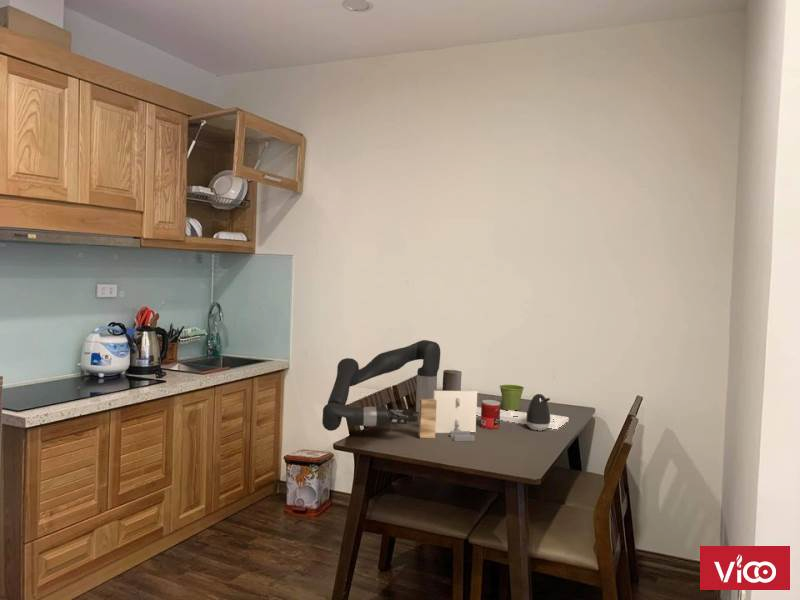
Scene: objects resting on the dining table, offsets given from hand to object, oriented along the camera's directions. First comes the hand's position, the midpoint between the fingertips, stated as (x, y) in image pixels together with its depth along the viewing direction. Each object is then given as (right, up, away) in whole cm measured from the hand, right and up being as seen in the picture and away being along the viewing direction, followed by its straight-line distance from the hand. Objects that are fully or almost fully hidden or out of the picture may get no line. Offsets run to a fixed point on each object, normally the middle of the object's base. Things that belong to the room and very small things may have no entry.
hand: (415, 416), depth 242 cm
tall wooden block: (+5, -9, +1) cm, 10 cm away
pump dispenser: (+53, -10, +21) cm, 58 cm away
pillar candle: (+21, -6, +81) cm, 84 cm away
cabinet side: (+17, -9, +5) cm, 20 cm away
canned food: (+32, -9, +21) cm, 40 cm away
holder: (+46, -9, +41) cm, 62 cm away
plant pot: (+48, -8, +57) cm, 74 cm away
